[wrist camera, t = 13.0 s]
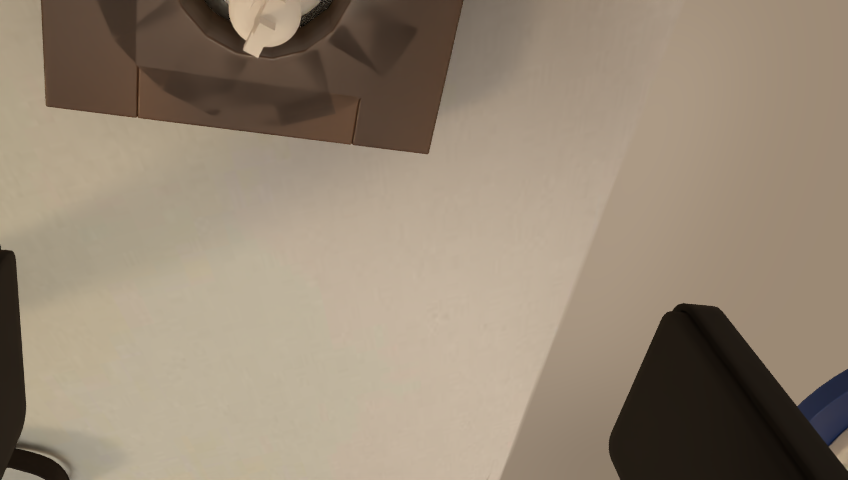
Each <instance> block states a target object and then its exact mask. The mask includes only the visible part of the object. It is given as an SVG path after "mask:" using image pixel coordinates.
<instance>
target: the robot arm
mask: <svg viewBox="0 0 848 480" xmlns="http://www.w3.org/2000/svg"><path fill="white" fill-rule="evenodd" d="M25 414H26V397H25V383H24V368H23V354H22V340H21V326H20V312H19V298H18V283H17V269H16V259H15V255H14V252H13V251H10V250H1V246H0V480H1V479H2V477H3V475H4V472H5V470H6V467H7V465H8V463H9V460H10V458H11V456H12V453H13V451H14V449H15V446H16V444H17V442H18V439H19V437H20V434H21V432H22V429H23V425H24V420H25ZM609 453H610V457H611V460H612V462H613V464H614V467H615V469H616V471H617V473H618V476H619V477H620V480H848V428H847V429H846V430H845V431H844V432H842V433H841V434H840V435H839V436H838V437H837V438H836V439H835V440H834V441H833V442H832V443H831V444H830V445H829V446H828V445H827V444H826V443H825V441H824V440H823V439H822V438H821V436H820V435H819V434H818V432H817V431H816V430H815V429H814V427H813V426H812V425H811V424H810V422H809V421H808V420H807V419H806V417H805V416H804V415H803V413H802V412H801V411H800V410H799V408H798V407H797V406H796V405H795V403H794V402H793V401H792V399H791V398H790V397H789V396H788V394H787V393H786V392H785V391H784V389H783V388H782V387H781V385H780V384H779V383H778V382H777V380H776V379H775V378H774V377H773V375H772V374H771V373H770V371H769V370H768V369H767V368H766V367H765V365H764V364H763V363H762V361H761V360H760V359H759V357H758V356H757V355H756V354H755V352H754V351H753V350H752V349H751V347H750V346H749V345H748V343H747V342H746V341H745V340H744V338H743V337H742V336H741V335H740V333H739V332H738V331H737V330H736V328H735V327H734V326H733V325H732V323H731V322H730V321H729V319H728V318H727V317H726V315H725V314H724V313H723V312H722V311H721V310H720V309H719V308H718V307H714V306H706V305H696V304H685V303H683V304H679V305H677V306H676V307H675V308H674V309H673V311H670V312H667V313H666V314H665V315H664V316H663V317H662V320H661V321H660V324H659V326H658V328H657V330H656V333H655V335H654V337H653V340H652V342H651V344H650V346H649V349H648V351H647V353H646V356H645V358H644V360H643V362H642V364H641V367H640V369H639V371H638V373H637V376H636V378H635V380H634V383H633V385H632V387H631V390H630V392H629V394H628V396H627V399H626V401H625V403H624V405H623V408H622V410H621V412H620V415H619V417H618V419H617V421H616V423H615V426H614V428H613V430H612V432H611V436H610V439H609Z"/></svg>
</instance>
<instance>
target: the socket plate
mask: <svg viewBox="0 0 848 480" xmlns="http://www.w3.org/2000/svg"><path fill="white" fill-rule="evenodd" d="M462 5H463V0H333V1H332V3H331V5H330V6H329V8H328V9H326V10H325V11H324V12H322V13H321V14H320V15H318V16H317V17H315V18H314V19H313V20H311V21H310V22H309V23H307V24H306V25H304V26H302V27H298V29H297V31H296V33H295V34H294V35H293V36H292V37H291V38H290V39H289V40H288V41H286V42H285V43H283V44H281V45H278V46H274V47H263V49H262V51H261V53H260V55H259V57H258V58H257V57H255V56H253V55H251V54H249V53H247V52H245V51H243V47H244V44H245V42H246V40H245V39H243V38H242V37H241V36H240V35H239V34H238V33H237V32H236V30H235V29H234V27H233V25H232V23H231V22H230V21H228V20H227V19H225V18H223V17H221V16H220V15H218V14H216V13H214V12H213V11H212V9H211V8H210V7H209V6H208V5H207V3H206V2H205V1H204V0H41V11H42V33H43V55H44V76H45V98H46V106H48V107H55V108H63V109H71V110H79V111H87V112H95V113H103V114H111V115H119V116H127V117H137V116H138V118H143V119H151V120H159V121H167V122H175V123H183V124H191V125H199V126H207V127H215V128H223V129H231V130H239V131H247V132H255V133H263V134H271V135H279V136H287V137H295V138H303V139H311V140H319V141H327V142H335V143H343V144H353V145H358V146H366V147H374V148H382V149H390V150H398V151H406V152H414V153H422V154H428V153H429V149H430V145H431V141H432V136H433V132H434V128H435V123H436V119H437V114H438V110H439V106H440V101H441V97H442V92H443V88H444V84H445V79H446V75H447V71H448V66H449V62H450V57H451V53H452V49H453V44H454V40H455V35H456V31H457V27H458V22H459V18H460V13H461V9H462Z"/></svg>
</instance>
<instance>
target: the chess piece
mask: <svg viewBox="0 0 848 480" xmlns="http://www.w3.org/2000/svg"><path fill="white" fill-rule="evenodd" d="M224 1H225V2H226V3H227V4H228V5H229V17H230V20H231V23H232V25H233V27H234V29H235V30H236V32H237V33H238V34H239V35H240V36H241V37H242V38H243V39H245V40H246V42H245V44H244V47H243V51H245V52H247V53H249V54H251V55H253V56H255V57H257V58H258V57H259V55H260V53H261V51H262V49H263V47H274V46H278V45H281V44H283V43H285V42H286V41H288V40H289V39H290V38H291V37H292V36H293V35H294V34H295V33H296V31H297V29H298V27H299V25H300V21H301V16H303V15H305V14H306V13H308V12H309V11H311V10H312V9H313V8H315V7H316V6H317V5H318V4H319V3H320V2H321V0H224Z"/></svg>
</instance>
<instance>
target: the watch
mask: <svg viewBox="0 0 848 480" xmlns="http://www.w3.org/2000/svg"><path fill="white" fill-rule="evenodd" d="M6 468H13V469H16V470H20V471H24V472H27V473H31V474H34V475H37V476H39V477H41V478H43V479H45V480H69V477H68V475H67V473H66V472H65V470H64V469H63V468H62V467H61V466H60V465H59V464H58V463H56V462H55V461H53V460H52V459H50V458H47V457H45V456H42V455H39V454H36V453H33V452H30V451H25V450H21V449H16V448H15V449H14V451H13V453H12V456H11V458H10V460H9V463H8V465H7V467H6Z"/></svg>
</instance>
